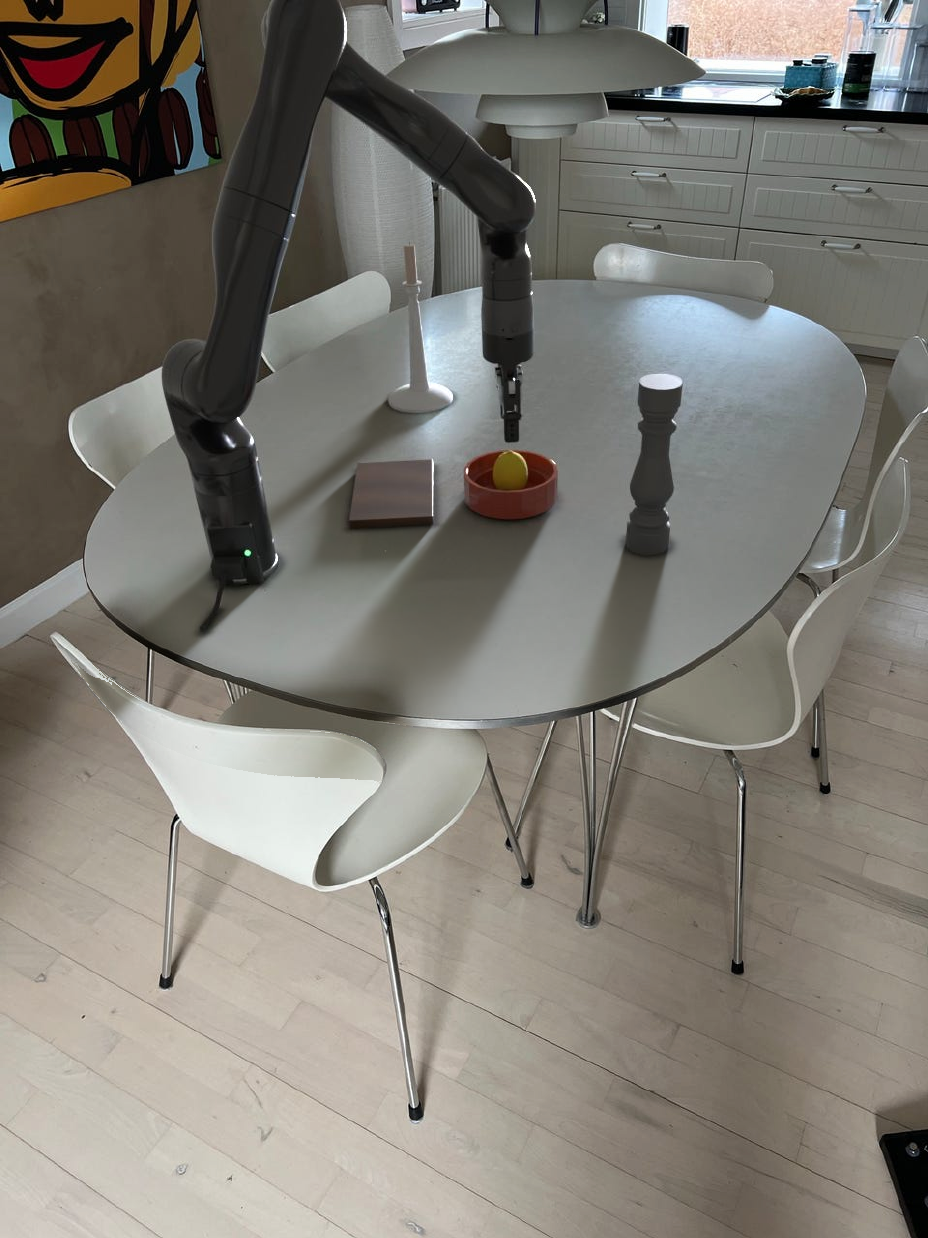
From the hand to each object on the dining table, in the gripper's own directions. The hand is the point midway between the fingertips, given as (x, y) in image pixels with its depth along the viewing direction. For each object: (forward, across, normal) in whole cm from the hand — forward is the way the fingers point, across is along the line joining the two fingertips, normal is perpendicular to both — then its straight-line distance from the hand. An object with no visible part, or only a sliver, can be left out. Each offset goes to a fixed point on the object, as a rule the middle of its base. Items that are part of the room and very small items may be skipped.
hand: (509, 429), depth 143 cm
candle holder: (+12, +16, +19) cm, 28 cm away
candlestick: (+12, -43, -15) cm, 47 cm away
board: (+12, -3, -19) cm, 23 cm away
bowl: (+12, 0, 0) cm, 12 cm away
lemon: (+12, 0, 0) cm, 12 cm away
